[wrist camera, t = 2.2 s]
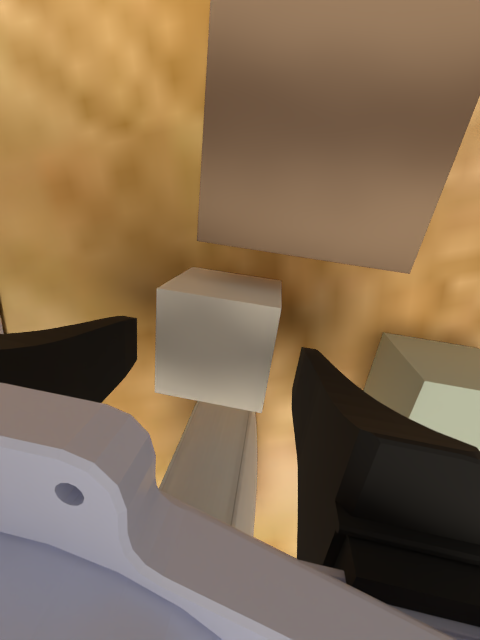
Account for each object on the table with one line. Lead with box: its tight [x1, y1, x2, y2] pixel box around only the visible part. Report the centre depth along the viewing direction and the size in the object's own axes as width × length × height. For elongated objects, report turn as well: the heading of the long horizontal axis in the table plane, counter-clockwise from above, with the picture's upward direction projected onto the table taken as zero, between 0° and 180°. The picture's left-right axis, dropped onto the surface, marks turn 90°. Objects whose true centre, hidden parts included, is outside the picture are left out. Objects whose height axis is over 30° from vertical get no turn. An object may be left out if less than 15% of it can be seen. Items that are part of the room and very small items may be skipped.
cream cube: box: [155, 267, 282, 413], centre depth 14 cm, size 5×5×5 cm
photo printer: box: [159, 401, 257, 537], centre depth 14 cm, size 10×4×12 cm, turn 1°
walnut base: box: [197, 0, 480, 274], centre depth 11 cm, size 9×9×3 cm
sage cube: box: [363, 332, 480, 451], centre depth 14 cm, size 5×5×5 cm
